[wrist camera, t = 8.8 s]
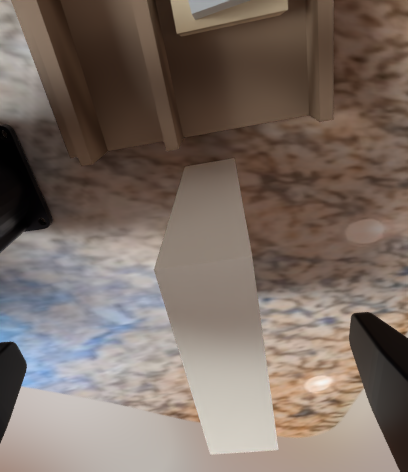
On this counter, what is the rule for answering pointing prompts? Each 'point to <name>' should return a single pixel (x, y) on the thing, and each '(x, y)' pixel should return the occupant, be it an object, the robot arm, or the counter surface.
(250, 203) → the counter surface
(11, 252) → the counter surface
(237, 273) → the panel
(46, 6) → the rack
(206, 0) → the grey offcut
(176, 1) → the oak offcut
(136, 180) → the counter surface
